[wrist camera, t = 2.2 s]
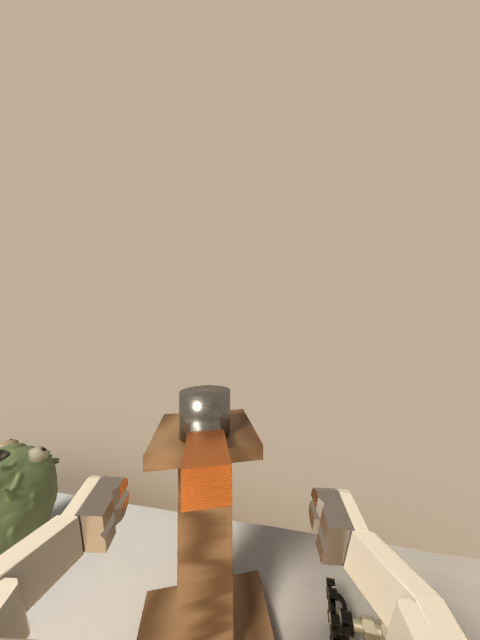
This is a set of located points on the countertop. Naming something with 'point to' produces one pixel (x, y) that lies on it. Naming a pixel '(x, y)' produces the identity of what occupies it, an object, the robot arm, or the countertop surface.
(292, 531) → the countertop surface
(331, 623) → the valve
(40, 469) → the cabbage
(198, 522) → the stand
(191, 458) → the valve lever
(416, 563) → the countertop surface
